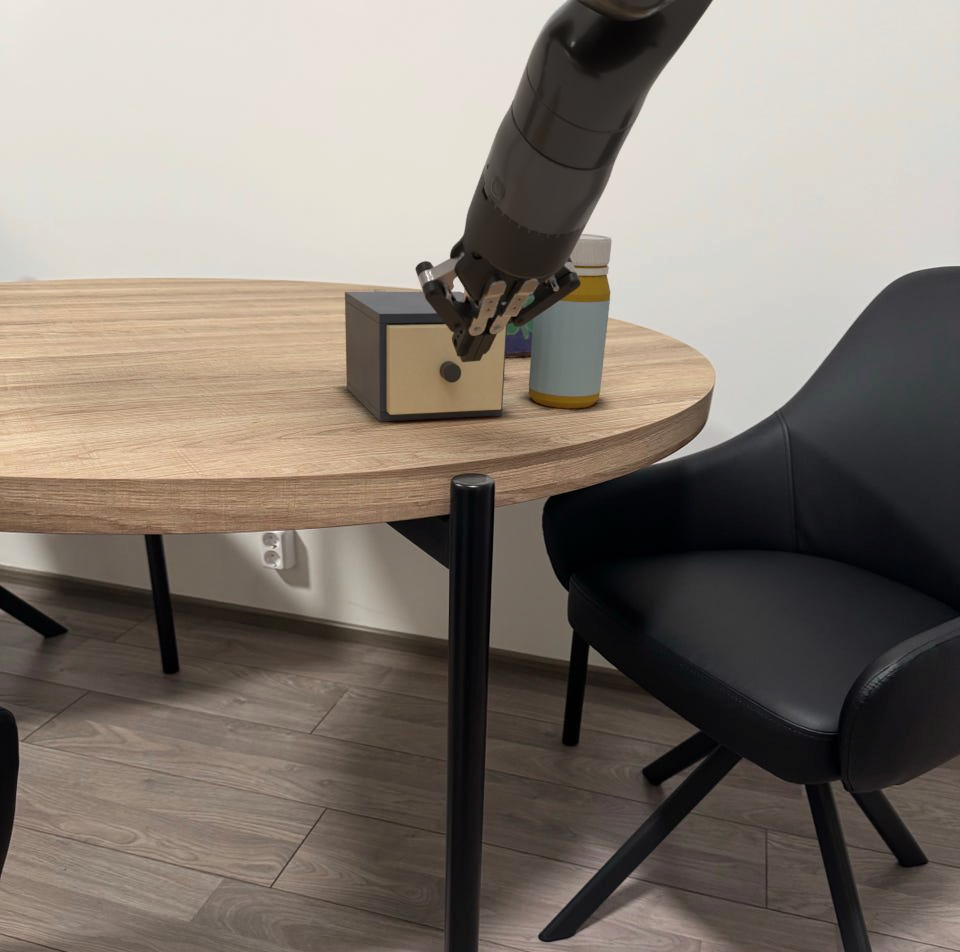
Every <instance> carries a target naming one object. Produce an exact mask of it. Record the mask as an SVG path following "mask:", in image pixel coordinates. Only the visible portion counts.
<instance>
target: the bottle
mask: <svg viewBox="0 0 960 952" xmlns="http://www.w3.org/2000/svg"><path fill="white" fill-rule="evenodd" d="M612 242H613V241H612V237H611V236H606V235H600V234H593V233H591V234H590V233H582V234H581V236H580V238H579V240H578V242H577V244H576V245H575V247H574V249H573V251H572V253H571V255H570V258H571V260H572V263H573V265H574V268H575V270H576V273H577V275H578V278H579V280H580V283H581V284H580V286H579V287H578V288H577V289H576V290H574V291H573V292H571V293H570V294H568V295H567V296H565V297H564V298H563V299H561V300H560V301H558V302H557V303H555V304H554V305H552V306H551V307H550V308H548V309H547V310H545V311H544V312H542V313H541V314H539V315H538V316H536V317H535V318H534V319H533V333H532V347H531V356H530V361H529V376H528V394H529V396H530V397H531V399H532V400H533V401H534V402H535V403H536V404H539V405H541V406H546V407H550V408H551V407H552V408H557V409H583V408H588V407H592V406H593V405H595V403H597V401H598V400H599V399H600V393H601V388H602V378H603V370H604V368H603V367H604V360H605V350H606V342H607V341H606V340H607V333H608V332H607V330H608V322H609V312H610V303H611V288H610V284H609V278H608V274H609V269H610V267H609V263H610V261H611V251H612Z"/></svg>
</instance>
